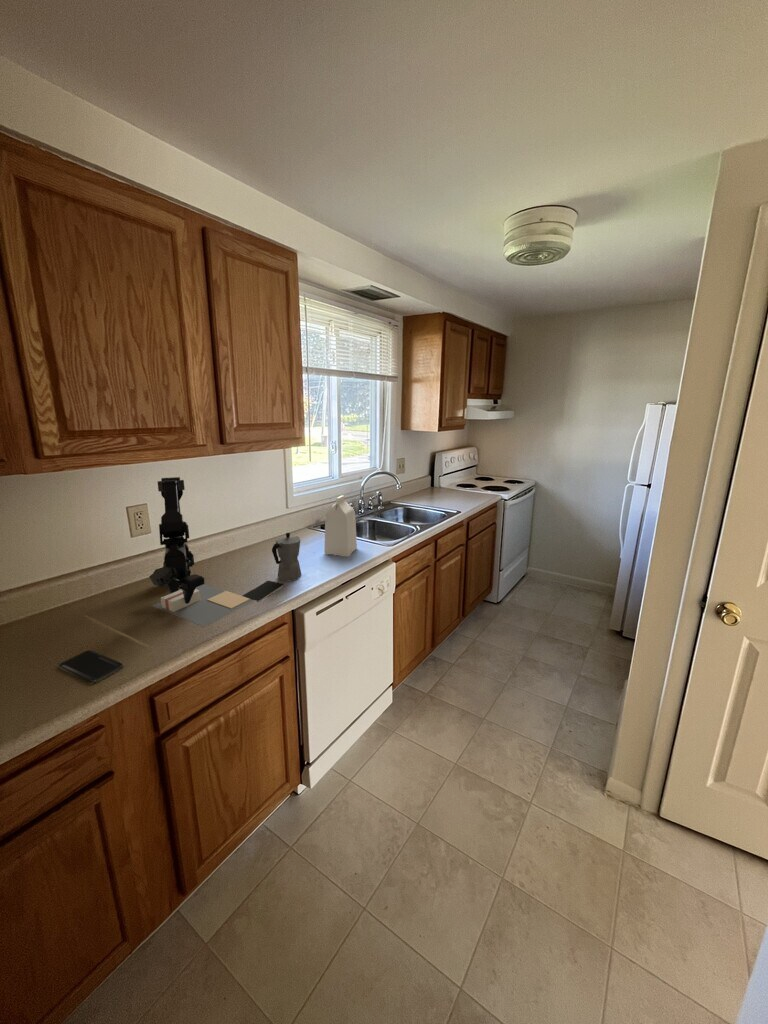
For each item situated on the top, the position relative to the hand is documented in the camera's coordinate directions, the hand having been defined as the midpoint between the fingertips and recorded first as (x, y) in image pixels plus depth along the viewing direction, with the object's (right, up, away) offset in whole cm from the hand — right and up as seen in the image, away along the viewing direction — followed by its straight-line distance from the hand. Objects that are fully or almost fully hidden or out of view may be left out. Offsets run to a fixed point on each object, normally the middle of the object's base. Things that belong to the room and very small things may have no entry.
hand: (181, 600), depth 137 cm
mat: (+7, -1, +1) cm, 7 cm away
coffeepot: (+30, +4, +24) cm, 39 cm away
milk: (+48, +11, +55) cm, 73 cm away
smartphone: (+24, 0, +12) cm, 27 cm away
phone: (-7, -10, -33) cm, 35 cm away
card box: (0, -1, 0) cm, 1 cm away
